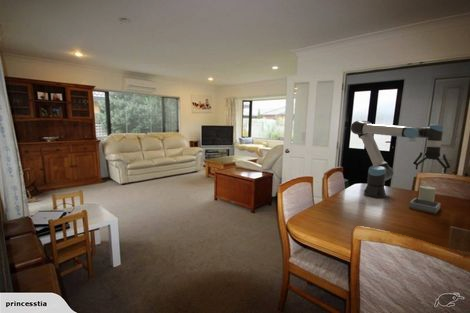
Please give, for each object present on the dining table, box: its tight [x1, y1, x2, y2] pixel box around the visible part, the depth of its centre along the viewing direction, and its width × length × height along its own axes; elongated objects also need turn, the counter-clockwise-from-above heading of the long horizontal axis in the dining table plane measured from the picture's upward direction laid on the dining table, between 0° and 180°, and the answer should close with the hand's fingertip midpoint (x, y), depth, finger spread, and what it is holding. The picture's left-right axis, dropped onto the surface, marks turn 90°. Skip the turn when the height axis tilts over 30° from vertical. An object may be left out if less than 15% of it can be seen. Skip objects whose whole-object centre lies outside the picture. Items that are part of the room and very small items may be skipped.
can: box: [417, 185, 437, 202], centre depth 164 cm, size 9×9×12 cm
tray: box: [408, 197, 441, 215], centre depth 152 cm, size 14×14×4 cm
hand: (429, 175), depth 161 cm, fingers open, 13 cm apart
